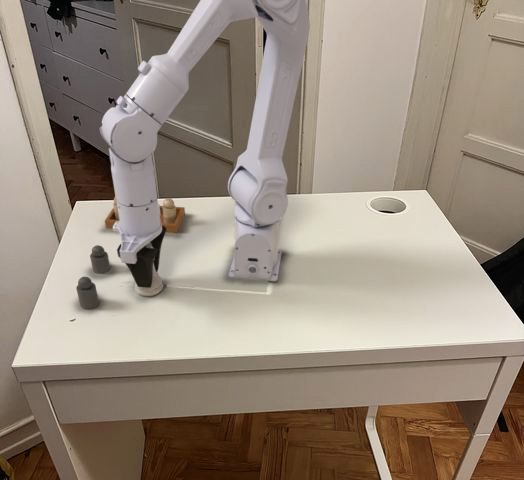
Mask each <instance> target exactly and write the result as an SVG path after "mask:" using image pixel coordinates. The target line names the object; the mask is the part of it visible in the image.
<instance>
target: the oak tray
mask: <svg viewBox="0 0 524 480" xmlns="http://www.w3.org/2000/svg"><path fill="white" fill-rule="evenodd" d="M159 206H160V219H161V223H162V226H164V227H166V233H169V234H177V233H178V231H179V229H180V228H181V226H182V223H183V221H184V218H185V216H186V209H185V207H184V206H176V216H177V218H176V220H175V222H174V224H168V223H164V218H163V209H162V207H163V205H159ZM117 221H120V220H116V218H115V212H114V207H113V208H112V209H111V211H110V212H109V213H108V215H107V217H106V218H105V219H104V224H105V229H109V230H113V225H114V224H115V222H117ZM166 233H165V234H166Z"/></svg>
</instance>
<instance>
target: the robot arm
mask: <svg viewBox="0 0 524 480" xmlns="http://www.w3.org/2000/svg"><path fill="white" fill-rule="evenodd" d="M309 16H310V15H309V9H308V4H307V0H199V2H198V4H197V5H196V7H195V9H194V10H193V11H192V13H191V15H190V16H189V18H188V19H187V21H186V22H185V24H184V26H183V27H182V29H181V30H180V32H179V34H178V35H177V37H176V39H174V41H173V43H172V44H171V46H170V48H169V49H168V51H167V52H166V53H164V54H159V55H153V56H151V58H150V59H149V60H148V61H146V60H142V62H141V63H140V64H139V66H138V67H137V70H138V71H139V72H140V73H139V74H138V76H137V77H136V79H135V80H134V82H133V83H132V84H131V86H130V87H129V89H128V90H127V91H126V93H125V94H124V95H123V96H122V95H120V96H119V97H118V98H117V100H116V105H115V107H114V106H112V107H110V108H109V109H108V110H107V111H106V112H105V113H104V115H103V117H102V119H101V126H100V127H99V133H100V135H101V137H102V139H103V140H104V141H105V143H107V145H108V146H109V147H108V152H109V161H110V171H111V177H112V184H113V189H114V195H115V196H116V202H117V208H118V214H119V220H120V221H117V222H115V224H114V225H113V229H112V231H113V232H115V233H119V238H120V244H119V245H118V246H117V249H116V252H117V256H118V258H119V259H120V263H121V264H125V265H126V267H127V269H128V270H129V272H130V273H131V275H132V278H133V280H134V282H136V284H137V286H138V287H147V288H150V287H151V285H152V279H153V262H154V267H155V270H156V272H157V273H158V271H159V267H160V259H161V258H160V257H161V251H162V245H163V242H164V238H165V235H166V227H164V226H162V223H161V219H160V206H161V205H160V204H159V200H158V192H157V184H156V173H155V165H154V163H153V153H154V152H155V151H156V148H157V146H158V132H159V130H161V128H162V127H163V125H164V123H165V122H166V121H167V120H168V119H169V117H170V115H171V114H172V113H173V111H174V110H175V109H176V107H177V106H178V104H179V103H180V102H181V101H182V100H183V98H184V97H185V95H186V93H188V91H189V89H190V84H189V83H190V82H189V74H190V72H191V71H192V70H193V68H194V67H195V65H196V64H197V63H198V62H199V61H200V59H202V57H203V56H204V54H206V52H207V51H208V50H209V49H210V47H212V45H213V44H214V43H215V42H216V40H217V39H218V38H219V36H220V35H221V34H222V33H224V30H225V29H226V28H227V27H228V26H229V24H231V23H233V22H237V21H243V20H249V19H253V18H256V19H257V21H258V22H259V24H260V25H261V27H262V28H263V29H264V31H265V33H266V40H265V45H264V50H263V56H262V61H261V68H260V73H259V78H258V79H259V80H258V85H257V89H256V91H257V92H256V94H255V101H254V107H253V113H252V117H251V123H250V129H249V134H248V140H247V145H246V146H247V147H246V150H245V151H244V152H242V153H241V154H240V155H239V156H238V157H237V161H236V165H235V167H234V170H233V171H232V173H231V174H230V176H229V178H228V180H227V191H228V194H229V196H230V197H231V198H232V200H234V205H235V206H234V207H235V208H234V246H233V253H234V255H233V258H232V262H231V266H230V269H229V272H228V277H229V278H237V279H252V280H264V281H268V282H277V281H278V278H279V272H280V266H281V260H282V252H283V251H282V250H281V249H280V248H279V241H280V240H279V239H280V238H279V237H280V222H281V219H282V217H283V216H284V215H285V214H286V211H287V208H288V204H289V197H288V194H287V187H288V182H289V181H288V180H289V179H288V176H287V172H286V168H285V166H284V162H283V156H284V150H285V147H286V142H287V136H288V132H289V128H290V123H291V119H292V113H293V109H294V105H295V100H296V95H297V91H298V86H299V81H300V77H301V72H302V67H303V63H304V58H305V53H306V49H307V44H308V40H309V35H310V30H311V29H310V27H311V24H310V23H311V21H310V17H309ZM115 196H114V197H115ZM149 242H150V243H151V245H152V247H153V248H146V245H147V244H148V243H149Z"/></svg>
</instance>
